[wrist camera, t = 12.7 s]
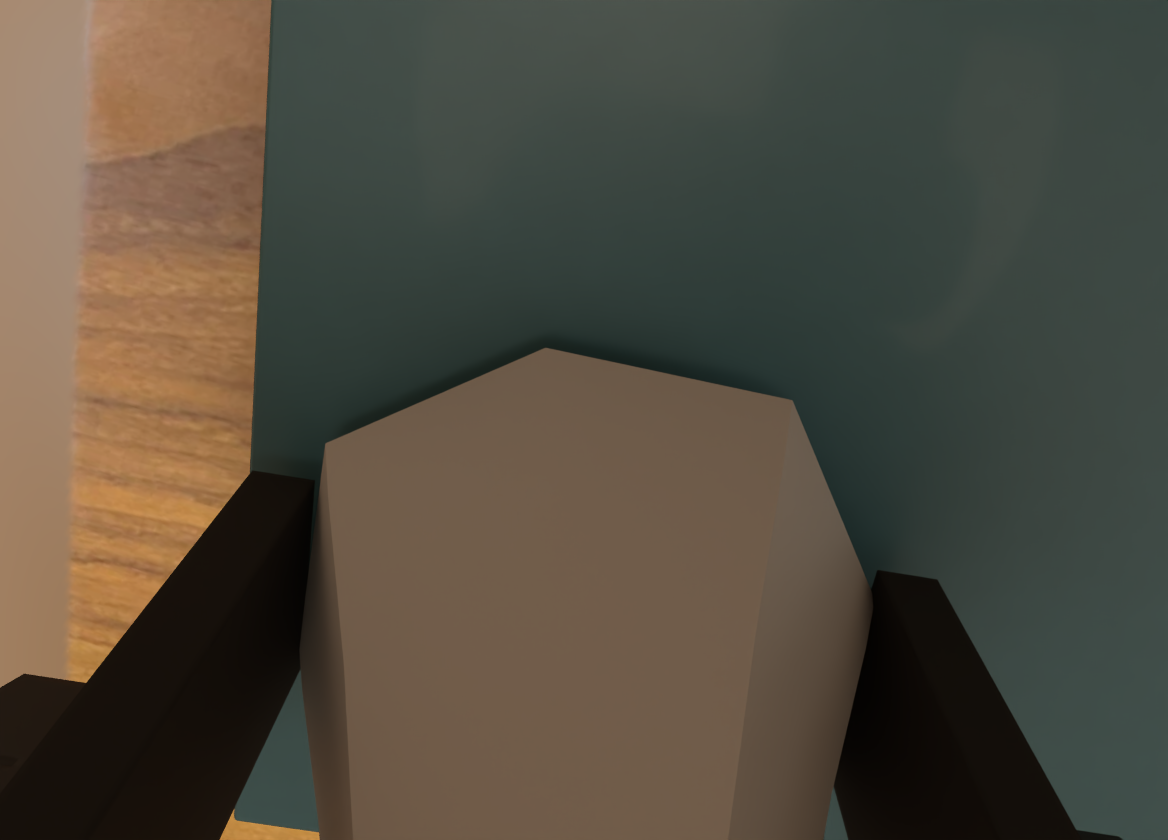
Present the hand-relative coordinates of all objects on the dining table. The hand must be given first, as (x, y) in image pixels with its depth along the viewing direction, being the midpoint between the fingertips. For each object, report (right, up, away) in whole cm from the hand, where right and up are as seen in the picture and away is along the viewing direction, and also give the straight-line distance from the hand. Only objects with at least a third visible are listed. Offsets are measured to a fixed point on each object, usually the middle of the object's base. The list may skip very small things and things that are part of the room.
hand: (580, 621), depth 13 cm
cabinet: (+3, +5, +9) cm, 11 cm away
